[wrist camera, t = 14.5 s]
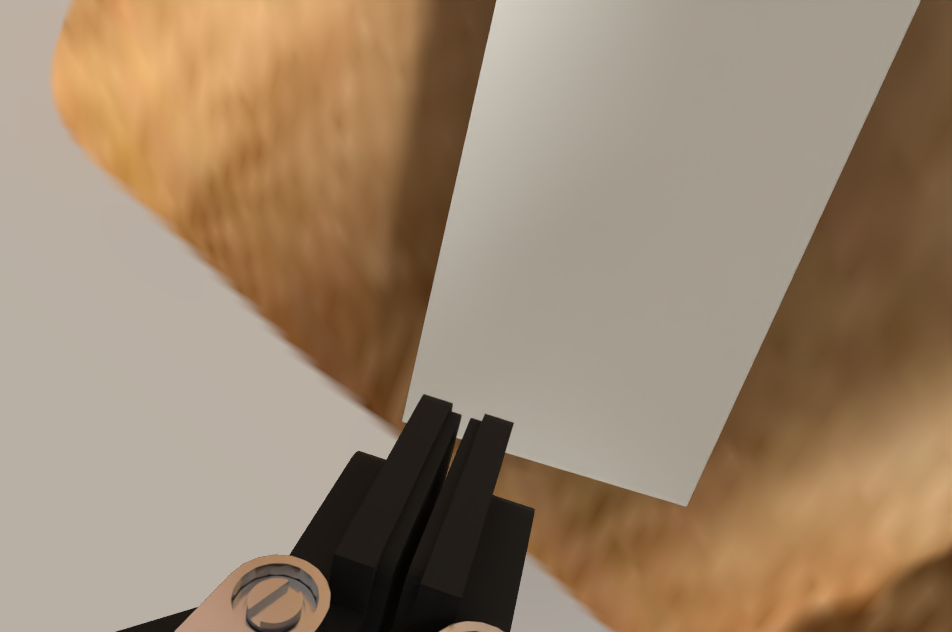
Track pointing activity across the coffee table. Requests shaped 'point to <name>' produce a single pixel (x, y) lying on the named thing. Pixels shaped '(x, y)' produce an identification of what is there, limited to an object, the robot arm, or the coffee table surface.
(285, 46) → the coffee table surface
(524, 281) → the panel
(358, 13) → the coffee table surface
